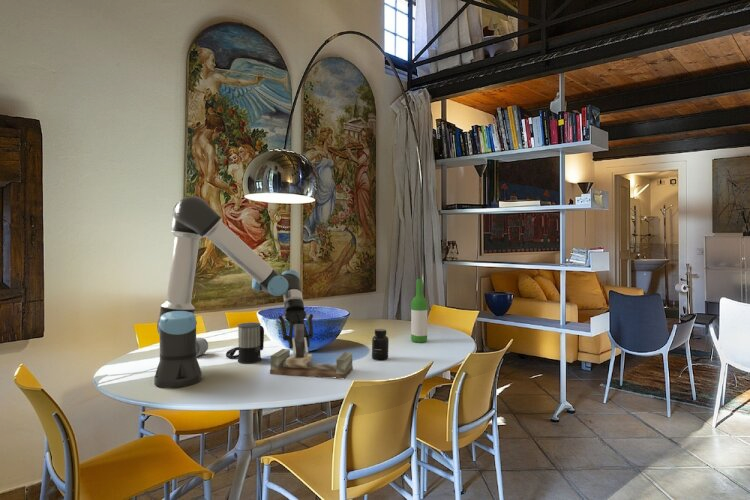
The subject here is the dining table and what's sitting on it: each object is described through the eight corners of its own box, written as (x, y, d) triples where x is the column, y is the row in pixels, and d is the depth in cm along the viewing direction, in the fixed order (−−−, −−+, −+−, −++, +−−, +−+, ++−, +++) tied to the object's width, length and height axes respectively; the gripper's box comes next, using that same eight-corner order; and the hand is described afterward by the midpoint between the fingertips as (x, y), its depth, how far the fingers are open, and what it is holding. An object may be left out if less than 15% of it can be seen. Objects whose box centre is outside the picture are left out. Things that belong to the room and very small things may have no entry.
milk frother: (257, 364, 183) (257, 326, 183) (217, 363, 183) (217, 326, 183) (266, 355, 197) (266, 320, 197) (229, 354, 198) (229, 320, 197)
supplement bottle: (374, 361, 188) (374, 331, 187) (370, 357, 194) (370, 328, 194) (390, 360, 190) (390, 330, 189) (385, 356, 196) (385, 327, 196)
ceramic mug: (209, 353, 200) (209, 335, 200) (200, 358, 192) (200, 339, 191) (186, 353, 201) (185, 335, 201) (176, 358, 193) (175, 339, 193)
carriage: (312, 363, 177) (312, 322, 177) (303, 369, 169) (303, 327, 168) (294, 362, 179) (294, 322, 179) (285, 368, 170) (285, 326, 170)
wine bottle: (419, 338, 230) (419, 278, 229) (430, 341, 224) (430, 279, 224) (407, 341, 225) (408, 279, 225) (419, 343, 219) (419, 280, 219)
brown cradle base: (352, 369, 176) (352, 352, 176) (344, 378, 164) (344, 360, 164) (283, 365, 182) (283, 348, 181) (270, 373, 170) (269, 356, 170)
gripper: (313, 308, 191) (322, 358, 175) (271, 310, 186) (276, 362, 170) (315, 296, 186) (324, 347, 170) (273, 298, 180) (278, 350, 165)
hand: (300, 354), depth 170 cm, fingers closed on carriage, 4 cm apart
